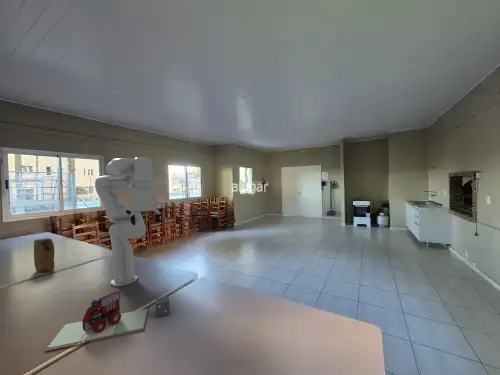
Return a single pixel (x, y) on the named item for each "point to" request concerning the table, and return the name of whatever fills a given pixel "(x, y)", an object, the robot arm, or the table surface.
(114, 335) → the pale green flat board
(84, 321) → the toy fire truck
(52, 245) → the block
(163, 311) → the die
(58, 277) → the table surface
